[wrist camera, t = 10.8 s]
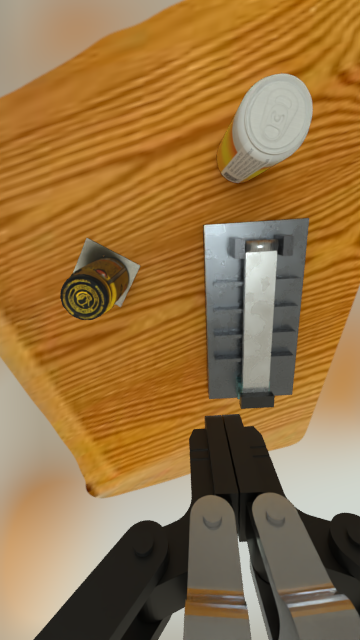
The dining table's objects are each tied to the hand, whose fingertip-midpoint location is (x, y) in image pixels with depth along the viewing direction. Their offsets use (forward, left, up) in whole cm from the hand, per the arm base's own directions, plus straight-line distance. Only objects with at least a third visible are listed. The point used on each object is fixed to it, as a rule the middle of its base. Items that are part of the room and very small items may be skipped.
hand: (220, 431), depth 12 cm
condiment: (+13, -2, -31) cm, 34 cm away
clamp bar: (-9, +7, -27) cm, 30 cm away
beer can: (-7, -16, -31) cm, 36 cm away
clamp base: (-9, +6, -31) cm, 33 cm away
